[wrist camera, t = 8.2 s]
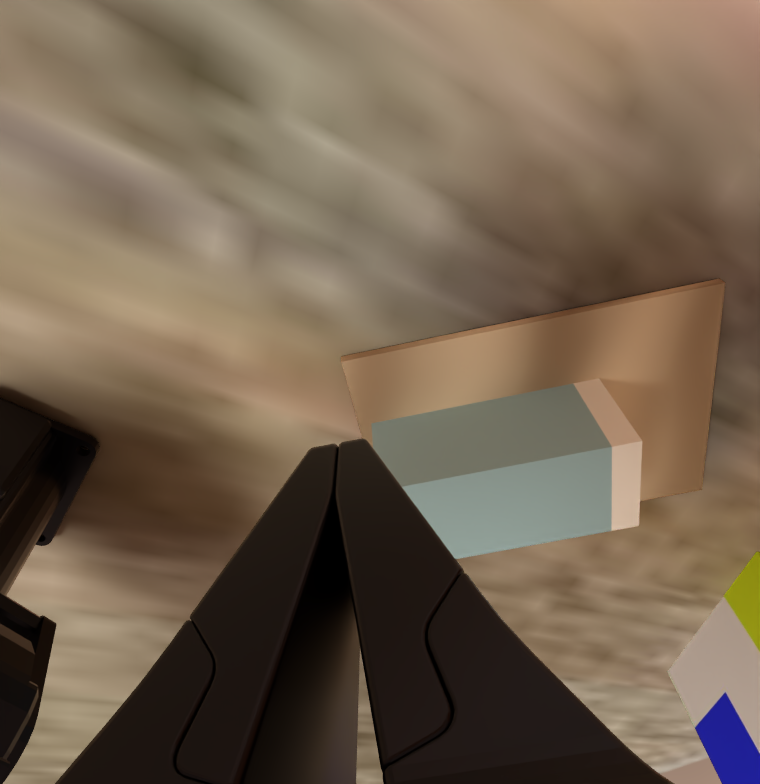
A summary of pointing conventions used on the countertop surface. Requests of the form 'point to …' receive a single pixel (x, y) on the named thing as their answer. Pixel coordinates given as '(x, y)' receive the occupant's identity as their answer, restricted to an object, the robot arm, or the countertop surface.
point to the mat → (571, 372)
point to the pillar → (518, 468)
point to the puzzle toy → (727, 680)
